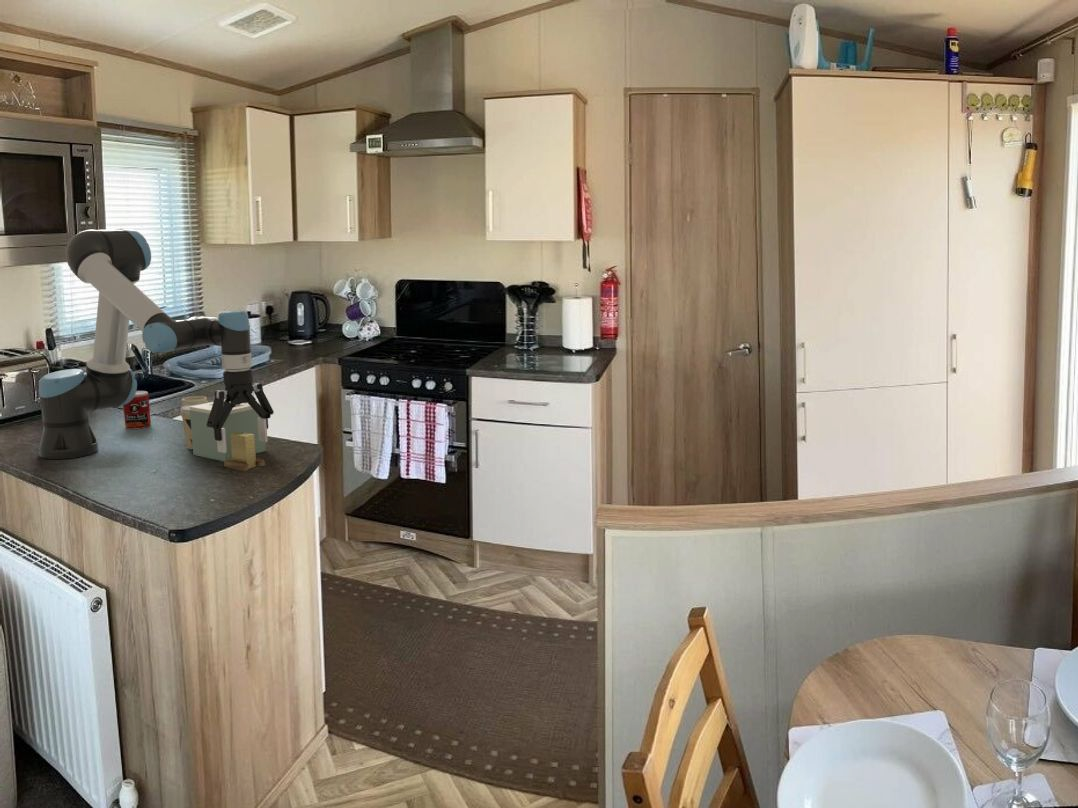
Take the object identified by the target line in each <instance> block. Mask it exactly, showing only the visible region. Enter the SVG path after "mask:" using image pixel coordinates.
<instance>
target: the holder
mask: <svg viewBox="0 0 1078 808" xmlns="http://www.w3.org/2000/svg"><path fill="white" fill-rule="evenodd" d="M265 465H266V463H265V459H261V458H258V457H256V467H263V466H265ZM223 467H225V468H228V469H233V470H236V471H237V470H238V471H243V472H247V471H249V469H250V468H249V464H245V463H241V462H236V461H232V460H227V461H223Z"/></svg>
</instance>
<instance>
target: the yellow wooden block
mask: <svg viewBox="0 0 1078 808" xmlns="http://www.w3.org/2000/svg"><path fill="white" fill-rule="evenodd" d="M230 435H231V449H232V460H231V461H236V462H241V463H245V464H249V469H253V468H256V467H257V466H256V458H257V456H256V454H255V440H254V434H250V433H245V432H240V431H239V432H235V433H231V434H230Z"/></svg>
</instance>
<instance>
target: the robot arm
mask: <svg viewBox="0 0 1078 808" xmlns="http://www.w3.org/2000/svg"><path fill="white" fill-rule="evenodd" d="M65 258H66V262H67V265H68V267H69V269H70V270H71V272H72V274H74V275H75V276H76V277H77V278H78V279H79V281H81V282H83V284H90V285H91V286H92V287H93V288H95V290H96V291H98V300H97V311H96V320H95V322H96V323H95V332H94V333H95V334H94V341H93V344H94V345H93V352H92V353H93V354H92V357H91V358H90V359H89V360H87V361H86V366H85V372H84V371H83V370H82V369H80V368H70V369H68V368H67V369H64V370H56V371H54V372H53V371H52V372H50V373H47V374H44V375H43V376H42V377H40V379H39V381H38V396H39V399H40V401H39V403H40V410H41V418H42V425H43V430H42V434H41V439H40V441H39V447H38V451H39V452H38V453H39V457H40V458H42V459H46V458H47V460H67V459H73V458H81V457H85V456H89V455H92V454H94V453H96V452H98V451H99V443H98V440H97V438H96V436H95V434H94V432H93V430H92V428H91V425H90V421H89V413H93V412H98V411H99V412H100V411H104V410H107V409H116V408H119V407H121V406H123V405H125V404H127V403H129V402H130V401H131V400H132V399H133V397H134V396H135V393H136V391H137V389H138V388H137V387H138V383H137V379H135V378H136V375H135V373H134V371H133V370H132V369H131V366H130V364H129V363H128V362H127V361H126V356H127V355H126V354H127V346H128V345H127V344H128V336H129V327H130V322H131V323H132V324H133V325H134V326H136V327H137V328H138V329H139V330H140V331H141V333H142V334H141V338H142V342H143V343H144V347H145V348H146V349H147V350H149V352H151V353H155V354H156V353H169V352H174V351H179V350H186V349H191V348H199V347H206V346H218V347H220V350H221V352H220V353H221V367H222V369H223V371H222V378H223V379H222V380H223V384H224V386H225V387H224V390H219V389H217V390H214V399H213V401H212V402H213V406H212V409H211V412H210V415H209V418H208V421H207V427H212V428H213V429H214V436H215V440H217V447H218V452H222V453H226V452H227V448H226V435H225V428H222V427H223V425H224V423H225V421H226V419H227V418H228V416H229V414H230V412H231V410H232V409H233V407H235V406H236V404H237V405H239V404H241V403H248V404H249V405H250V406H251V407H252V408H253V409H254V411H255V412H256V413H257V414H258V415H259V416H260V417H261V418H257V421H258V435H259V441H261V442H265V443H267V442H269V441H268V430H269V419H271V415H274V413H275V412H274V410H273V407H272V405H271V404H270V401H269V399H268V398H267V396H266V394H265V391H264V388H263V384H262V383H259V382H254V375H253V370H252V367H253V362H252V350H251V349H252V348H251V346H252V345H251V332H250V331H251V330H250V328H251V325H250V320H249V315H248V312H247V311H245V310H239V309H238V310H223V311H220V312H219V313H218V317H213V316H205V315H199V316H198V315H197V316H192V317H190V318H187V319H178V320H174V319H173V318H172V317H171V316H170V315H168V314H167V313H166V312H165V311H164V310H162V308H161V307H160V306H158V305H157V304H156V302H154V301H153V300H152V299H151V298H149V296H147V295H146V294H145V293H144V292H143V291H142V290H141V289H140V288H139V287H137V285H135V284H136V283H138V282H139V281H140V279H141V278H140V277H141V271H142V272H143V271H145V270H146V269H148V267H149V266H150V264H151V262H152V251H151V247H150V245H149V242H147V238H145V236H144V235H142V233H140V232H138V231H137V230H134V229H124V228H118V229H117V228H116V229H115V228H114V229H86V230H82V231H80V232H78V233H77V234H75V235H73V236H72V237H71V238H70V239H69V241H68V244H67V246H66V249H65ZM252 383H253V384H252ZM253 393H254V395H255V396H254V395H253ZM255 397H256V398H255ZM224 400H225V401H224ZM223 403H224V405H223ZM259 403H260V404H259ZM222 406H223V407H222Z"/></svg>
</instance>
